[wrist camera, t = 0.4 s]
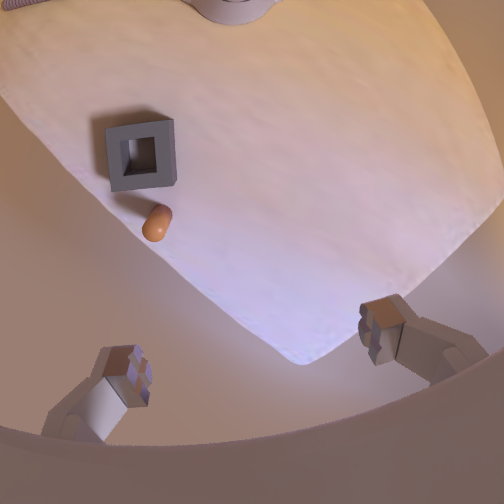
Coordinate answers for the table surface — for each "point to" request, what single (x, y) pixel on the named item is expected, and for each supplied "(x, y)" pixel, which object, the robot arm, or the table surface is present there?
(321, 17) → the table surface
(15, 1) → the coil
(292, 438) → the robot arm
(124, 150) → the socket holder
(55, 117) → the table surface
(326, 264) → the table surface
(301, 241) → the table surface
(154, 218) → the peg
